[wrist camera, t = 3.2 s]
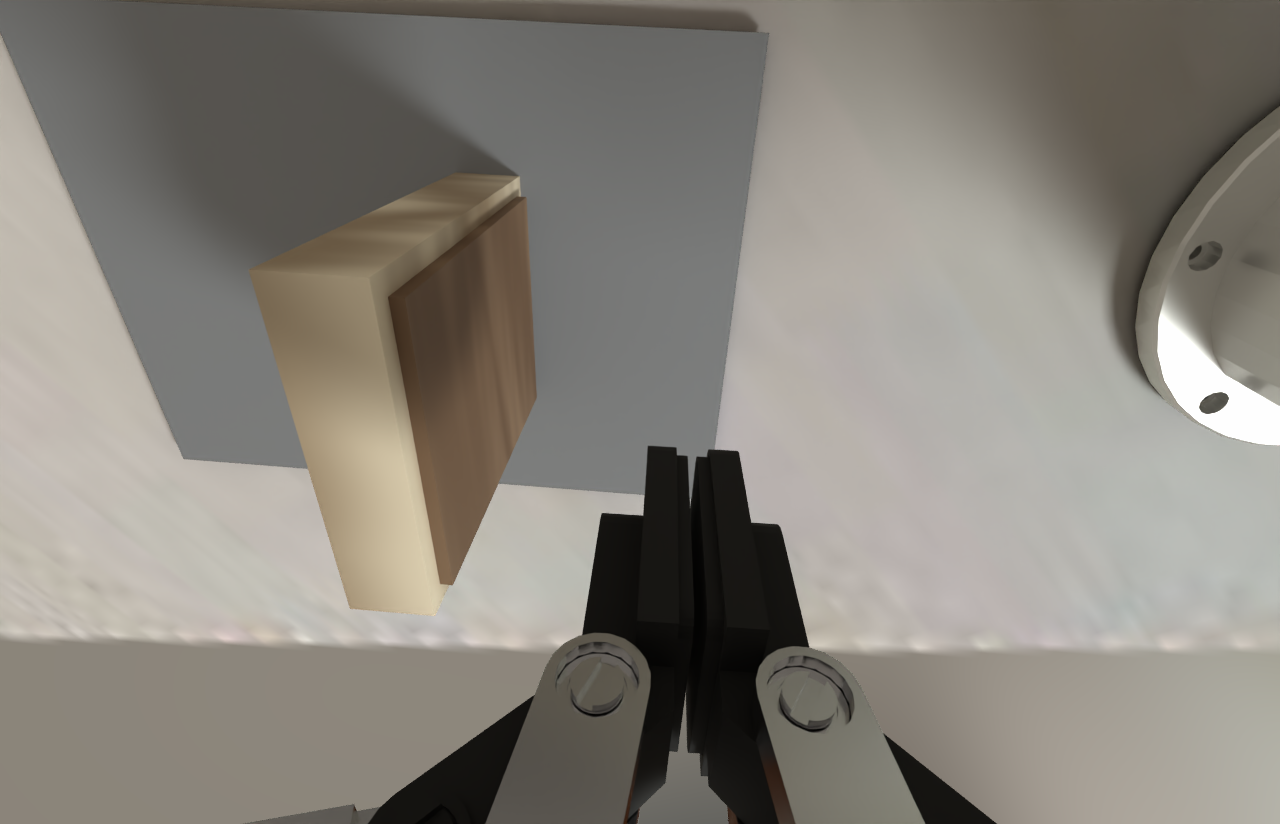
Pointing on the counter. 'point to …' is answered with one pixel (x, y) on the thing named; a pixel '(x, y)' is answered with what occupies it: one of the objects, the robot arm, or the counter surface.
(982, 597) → the counter surface
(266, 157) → the rubber mat
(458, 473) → the birch tile
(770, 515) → the counter surface
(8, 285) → the counter surface
